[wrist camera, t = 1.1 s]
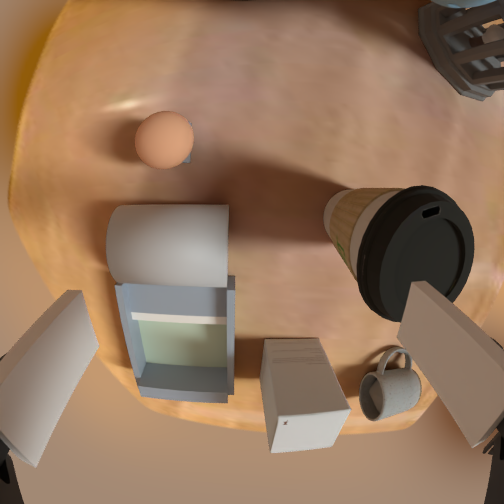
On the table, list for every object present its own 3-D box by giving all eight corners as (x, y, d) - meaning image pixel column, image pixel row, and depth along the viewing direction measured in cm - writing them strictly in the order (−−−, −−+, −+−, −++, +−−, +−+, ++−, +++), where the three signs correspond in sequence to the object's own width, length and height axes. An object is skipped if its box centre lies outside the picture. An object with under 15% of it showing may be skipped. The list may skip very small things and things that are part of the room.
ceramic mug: (395, 389, 39) (413, 418, 32) (354, 397, 39) (370, 431, 31) (415, 340, 36) (440, 369, 29) (372, 346, 35) (395, 380, 28)
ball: (146, 117, 22) (127, 109, 18) (198, 115, 23) (190, 104, 18) (145, 169, 24) (125, 171, 19) (196, 168, 24) (187, 169, 20)
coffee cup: (316, 270, 31) (372, 353, 17) (297, 184, 28) (358, 209, 13) (391, 246, 30) (474, 303, 16) (379, 164, 27) (478, 178, 13)
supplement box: (258, 379, 36) (266, 454, 24) (263, 337, 33) (276, 416, 21) (309, 378, 36) (332, 448, 24) (321, 337, 34) (353, 409, 22)
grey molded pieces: (126, 130, 26) (94, 122, 19) (239, 126, 27) (241, 113, 20) (147, 362, 36) (133, 400, 29) (233, 367, 37) (234, 409, 29)
